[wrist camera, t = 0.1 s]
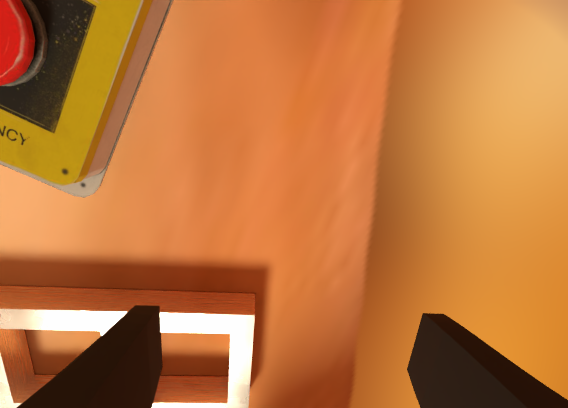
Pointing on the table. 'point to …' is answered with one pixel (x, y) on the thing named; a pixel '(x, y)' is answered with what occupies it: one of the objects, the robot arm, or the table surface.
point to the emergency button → (71, 84)
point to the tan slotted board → (105, 313)
